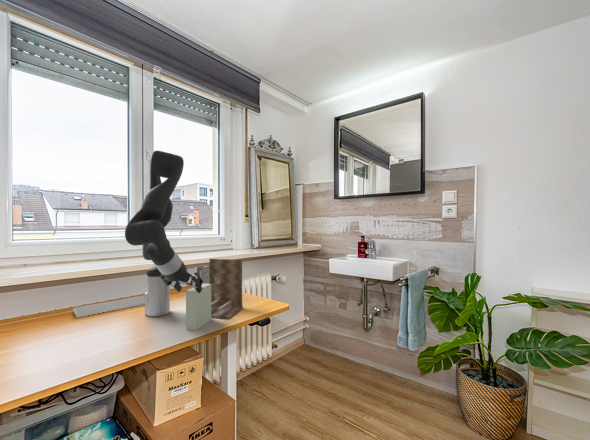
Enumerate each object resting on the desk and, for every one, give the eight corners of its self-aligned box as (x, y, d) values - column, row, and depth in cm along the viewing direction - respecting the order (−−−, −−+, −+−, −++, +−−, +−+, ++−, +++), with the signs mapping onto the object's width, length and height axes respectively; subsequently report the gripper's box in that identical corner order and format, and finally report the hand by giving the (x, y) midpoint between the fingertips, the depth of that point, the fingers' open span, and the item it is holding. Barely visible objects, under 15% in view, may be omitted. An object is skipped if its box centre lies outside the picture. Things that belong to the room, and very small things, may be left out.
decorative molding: (73, 319, 128) (76, 318, 121) (73, 308, 129) (76, 307, 122) (153, 303, 152) (160, 302, 145) (153, 294, 153) (159, 292, 146)
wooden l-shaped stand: (194, 316, 123) (194, 263, 123) (211, 305, 138) (211, 258, 138) (228, 319, 120) (228, 264, 120) (242, 308, 134) (242, 259, 134)
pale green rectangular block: (184, 329, 109) (184, 290, 108) (201, 318, 120) (200, 283, 120) (195, 330, 108) (195, 291, 107) (211, 319, 119) (211, 283, 119)
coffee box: (213, 296, 154) (213, 266, 154) (202, 298, 150) (201, 268, 150) (205, 293, 161) (205, 264, 161) (194, 295, 156) (194, 266, 156)
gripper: (193, 256, 97) (210, 282, 109) (157, 255, 100) (177, 280, 112) (184, 275, 92) (203, 300, 104) (146, 273, 95) (169, 298, 107)
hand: (190, 290), depth 108 cm, fingers open, 8 cm apart
